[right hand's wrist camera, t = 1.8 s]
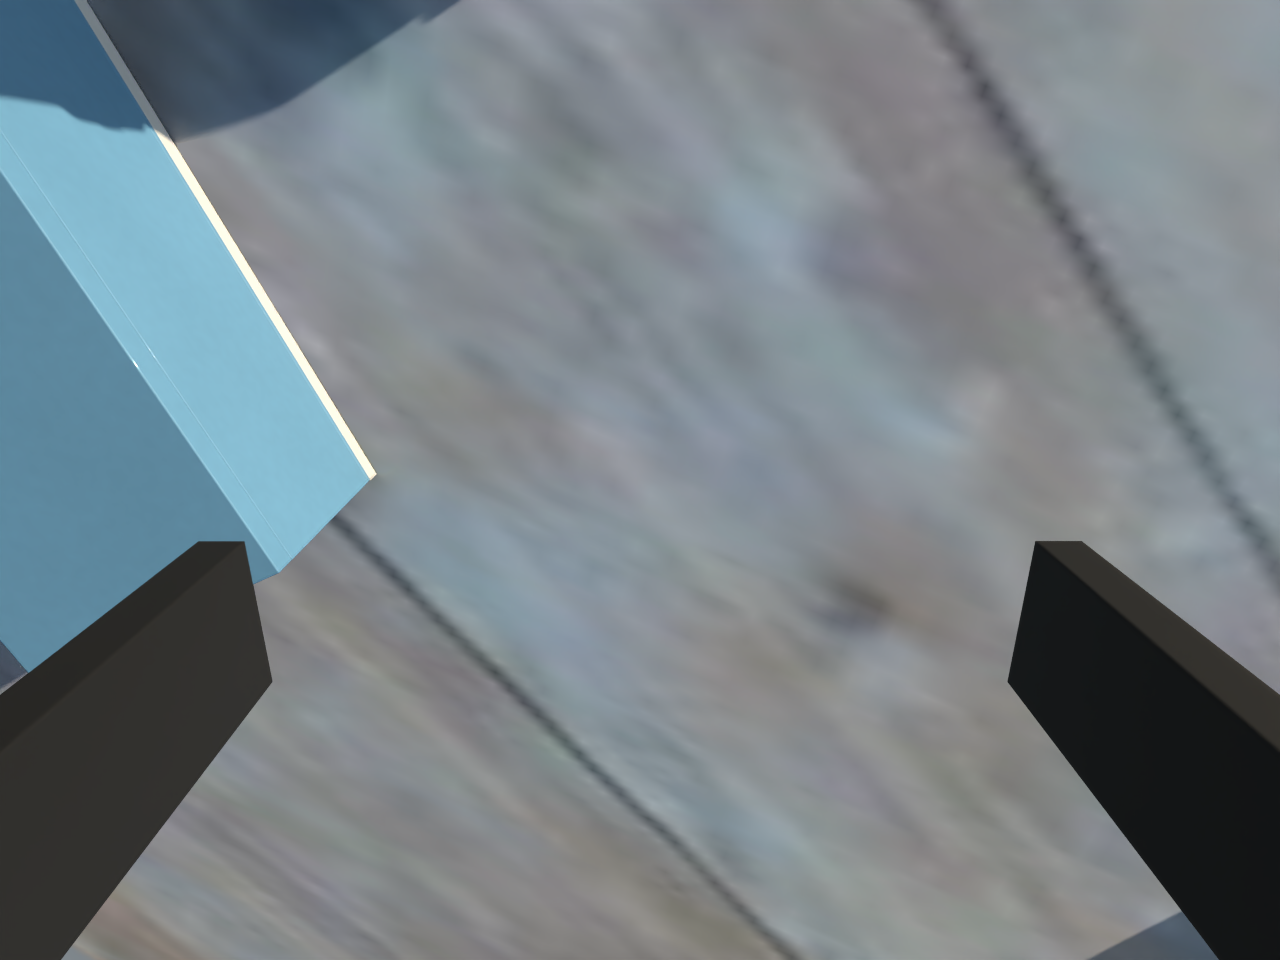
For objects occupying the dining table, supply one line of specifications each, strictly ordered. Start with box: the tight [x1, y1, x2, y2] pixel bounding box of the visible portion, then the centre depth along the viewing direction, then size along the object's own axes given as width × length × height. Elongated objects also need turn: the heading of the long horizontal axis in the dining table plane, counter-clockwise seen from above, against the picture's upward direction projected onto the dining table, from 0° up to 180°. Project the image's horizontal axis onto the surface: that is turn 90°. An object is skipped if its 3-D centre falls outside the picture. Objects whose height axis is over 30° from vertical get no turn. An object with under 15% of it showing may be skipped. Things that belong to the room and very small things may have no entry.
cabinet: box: [0, 0, 376, 673], centre depth 28 cm, size 21×10×10 cm, turn 25°
